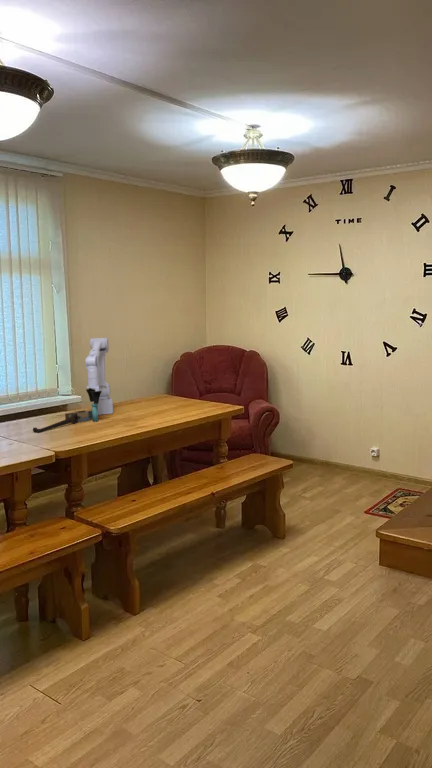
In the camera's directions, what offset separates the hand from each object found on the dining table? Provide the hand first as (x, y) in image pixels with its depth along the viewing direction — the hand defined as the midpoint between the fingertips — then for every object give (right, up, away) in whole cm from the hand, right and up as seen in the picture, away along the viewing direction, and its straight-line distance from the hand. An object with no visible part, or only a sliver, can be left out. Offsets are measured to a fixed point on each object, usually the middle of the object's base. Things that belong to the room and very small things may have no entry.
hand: (94, 402), depth 341 cm
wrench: (-17, -13, -11) cm, 24 cm away
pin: (0, -10, +1) cm, 10 cm away
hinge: (-8, -10, +4) cm, 13 cm away
